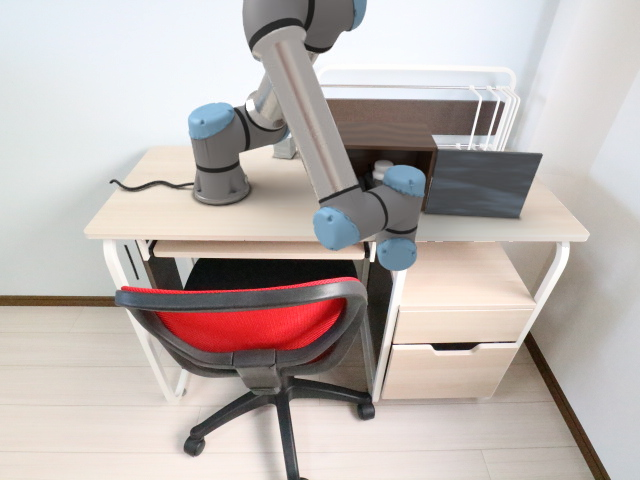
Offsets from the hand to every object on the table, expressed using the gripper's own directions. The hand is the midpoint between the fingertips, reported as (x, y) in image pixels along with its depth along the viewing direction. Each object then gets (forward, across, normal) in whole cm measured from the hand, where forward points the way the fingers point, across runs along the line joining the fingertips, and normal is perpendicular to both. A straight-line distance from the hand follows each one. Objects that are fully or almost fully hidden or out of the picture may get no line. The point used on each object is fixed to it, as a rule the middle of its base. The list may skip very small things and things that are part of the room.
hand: (380, 168), depth 104 cm
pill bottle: (-5, 0, -6) cm, 8 cm away
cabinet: (+1, 0, -8) cm, 8 cm away
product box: (+26, -29, -8) cm, 40 cm away
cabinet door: (-6, +24, -8) cm, 26 cm away
